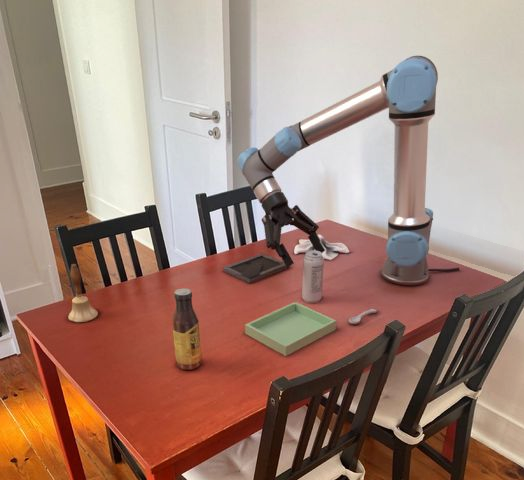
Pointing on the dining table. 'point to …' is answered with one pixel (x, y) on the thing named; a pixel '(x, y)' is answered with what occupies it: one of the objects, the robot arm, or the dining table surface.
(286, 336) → the tray
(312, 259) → the energy drink can
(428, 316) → the dining table surface
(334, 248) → the cloth
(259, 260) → the picture frame
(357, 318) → the spoon
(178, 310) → the sauce bottle
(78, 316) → the hand bell
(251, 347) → the dining table surface
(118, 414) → the dining table surface
